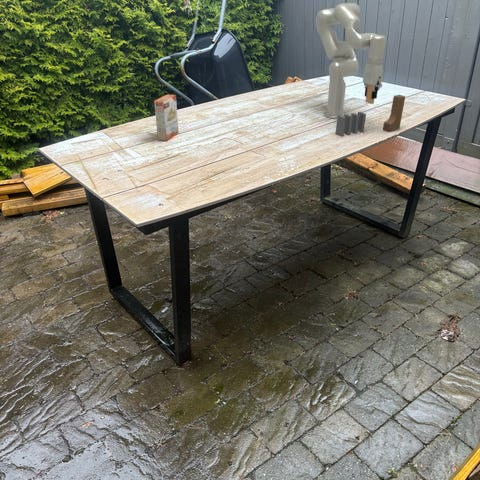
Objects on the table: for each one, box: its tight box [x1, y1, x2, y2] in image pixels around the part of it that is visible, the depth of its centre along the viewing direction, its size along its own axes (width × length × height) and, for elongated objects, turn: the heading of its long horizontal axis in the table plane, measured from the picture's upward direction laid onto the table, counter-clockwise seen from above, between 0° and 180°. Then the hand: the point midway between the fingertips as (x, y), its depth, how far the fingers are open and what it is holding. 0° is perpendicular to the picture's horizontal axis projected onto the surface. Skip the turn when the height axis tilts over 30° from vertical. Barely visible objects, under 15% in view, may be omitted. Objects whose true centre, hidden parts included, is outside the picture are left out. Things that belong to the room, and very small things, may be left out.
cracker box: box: [153, 94, 179, 142], centre depth 241 cm, size 14×6×21 cm, turn 160°
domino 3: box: [350, 112, 359, 134], centre depth 246 cm, size 5×2×10 cm, turn 26°
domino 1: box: [335, 115, 346, 137], centre depth 243 cm, size 5×2×10 cm, turn 26°
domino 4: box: [357, 111, 367, 133], centre depth 248 cm, size 5×2×10 cm, turn 26°
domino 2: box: [344, 113, 353, 136], centre depth 245 cm, size 5×2×10 cm, turn 26°
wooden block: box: [382, 94, 406, 133], centre depth 247 cm, size 9×4×18 cm, turn 123°
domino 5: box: [364, 85, 376, 105], centre depth 242 cm, size 5×2×10 cm, turn 24°
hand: (370, 97), depth 243 cm, fingers closed on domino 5, 4 cm apart
